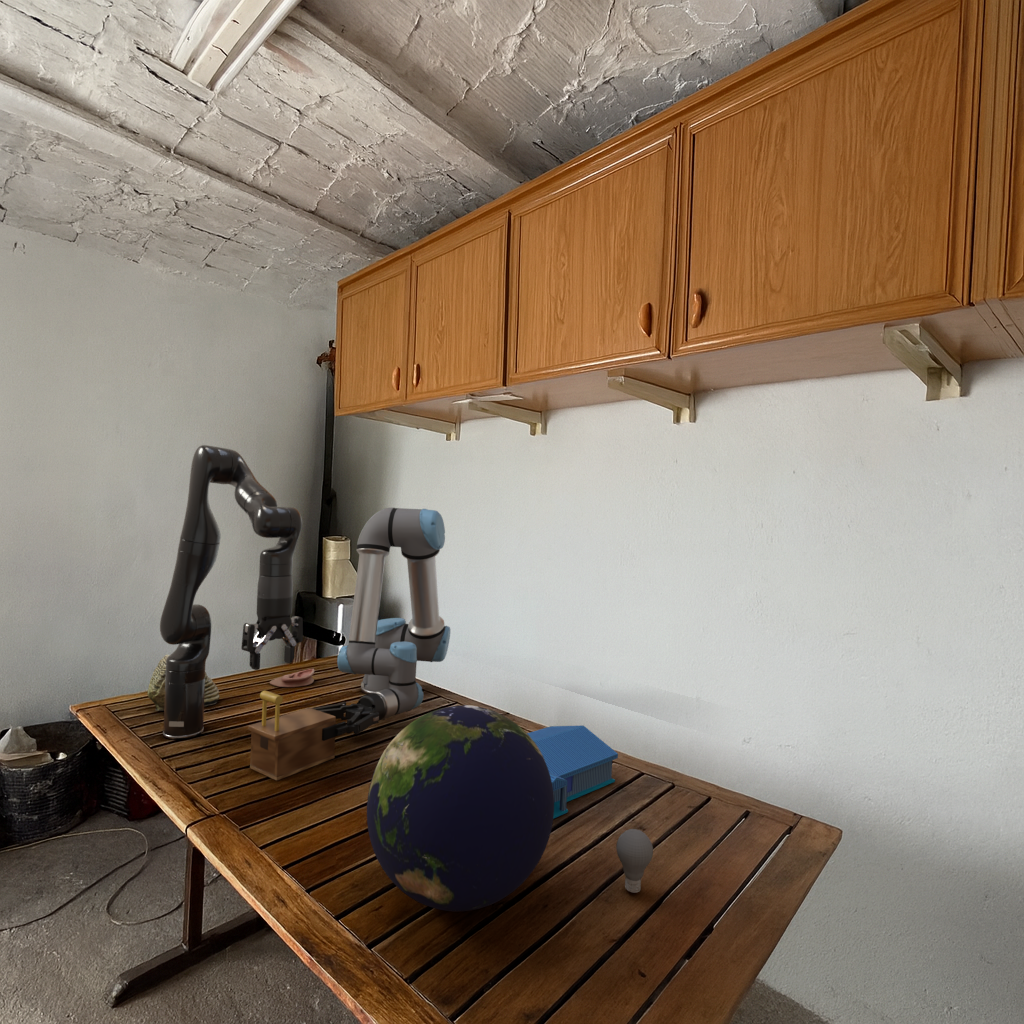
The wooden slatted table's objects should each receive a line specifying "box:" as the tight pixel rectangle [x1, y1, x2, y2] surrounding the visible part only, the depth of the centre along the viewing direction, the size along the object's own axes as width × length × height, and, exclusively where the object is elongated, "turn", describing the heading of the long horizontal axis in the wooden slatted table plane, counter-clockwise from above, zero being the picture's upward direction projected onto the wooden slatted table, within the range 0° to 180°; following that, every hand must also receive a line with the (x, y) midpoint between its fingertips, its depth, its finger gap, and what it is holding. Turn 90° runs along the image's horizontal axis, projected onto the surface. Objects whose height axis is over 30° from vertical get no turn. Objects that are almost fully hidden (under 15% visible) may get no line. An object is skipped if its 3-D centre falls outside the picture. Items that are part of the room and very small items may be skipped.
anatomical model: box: [269, 668, 315, 688], centre depth 212 cm, size 13×4×12 cm
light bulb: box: [615, 828, 654, 894], centre depth 106 cm, size 6×6×10 cm
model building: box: [526, 725, 619, 820], centre depth 140 cm, size 39×24×10 cm, turn 132°
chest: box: [249, 721, 337, 781], centre depth 150 cm, size 16×10×9 cm, turn 146°
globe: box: [366, 704, 554, 913], centre depth 102 cm, size 30×30×30 cm
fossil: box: [147, 654, 221, 712], centre depth 185 cm, size 9×18×15 cm, turn 132°
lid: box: [247, 690, 337, 741], centre depth 149 cm, size 17×10×9 cm, turn 146°
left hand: (272, 665), depth 144 cm, fingers open, 8 cm apart
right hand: (308, 729), depth 153 cm, fingers closed on chest, 10 cm apart
